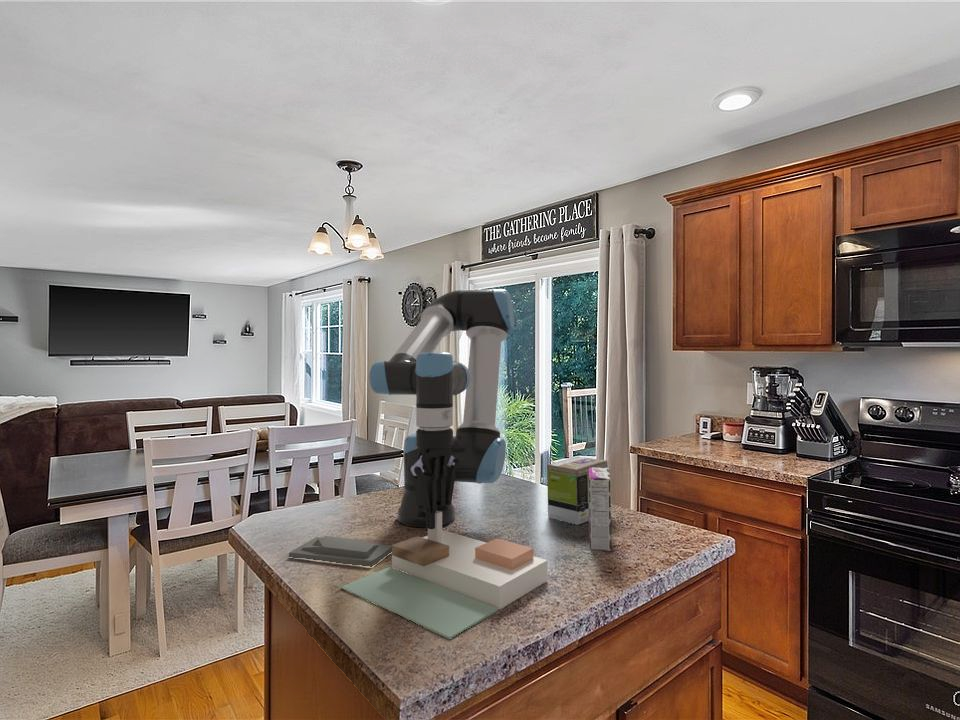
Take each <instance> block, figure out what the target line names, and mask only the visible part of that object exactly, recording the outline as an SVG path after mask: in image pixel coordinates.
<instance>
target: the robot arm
mask: <svg viewBox="0 0 960 720" xmlns="http://www.w3.org/2000/svg"><path fill="white" fill-rule="evenodd" d="M512 300H513V299H512V298H511V295H510V292H509V291H508V290H506V289H504V288H503V289H502V288H499V289H497V288H491V289H489V288H487V289H486V288H485V289H463V290H462V289H459V290H458V289H457V290H452V291H450V292H447V293H445V294H442V295H441V296H439V297H438V298H436V299H435V300H433V301H432V302H431V303H429V304H428V305H427V306H426V307H425V308H424V309H423V311H422V313H421V315H420V320H419V322H418V323H417V324H416V326H415V327H414V328H413V330H412V331H411V332H410V334H409V335H408V336H407V338H406V339H405V340H404V342H402V344H401V345H400V346H399V348H398V349H397V350H396V351H395V353H394V354H393V355H392V356H391V358H390V359H389V361H386V360H382V361H376V362H374V363H373V364H372V365H371V367H370V370H369V375H368V376H369V377H368V381H369V384H370V389H371V390H372V391H373V392H374V393H376V394H381V395H388V396H392V395H394V396H396V395H398V396H399V395H406V396H407V395H408V396H412V395H414V396H415V397H416V398H415V399H416V400H415V401H416V402H415V408H416V410H415V411H416V413H415V415H416V416H415V418H416V419H415V420H416V422H415V424H416V425H415V426H416V427H418V428H417V430H415V431H416V432H415V433H412V434H409V435H407V436H406V438H404V445H403V453H402V454H403V479H404V480H403V481H404V482H403V483H404V485H403V489H404V490H403V494H402V498H401V502H400V506H399V507H398V509H397V522H398V523H400V524H401V523H402V525H404V526H407V525H408V527H412V526H413V527H414V528H426V529H427V536H428V539H429V540H432V541H435V542H439V543H442V530H443V526H445V525H447V524H449V523H452V522H454V520H455V518H456V517H455V513H456V512H455V511H456V509H455V507H454V506H453V502H452V500H453V494H454V487H455V482H460V483H474V484H478V485H479V484H480V485H481V484H493V483H496V482H497V481H498V480H499V479H500V478H501V475H502V472H503V470H504V465H505V461H506V454H507V451H506V449H507V443H506V440H505V439H504V438H502V437H501V431H500V429H498V428H497V426H496V419H497V418H496V415H497V402H498V392H499V391H498V390H499V378H500V363H501V353H502V352H501V349H502V343H503V342H504V341H505V340H506V339H507V338H508V331H509V332H511V331H513V330H514V328H515V312H514V306H513V301H512ZM457 331H463V332H465V334H466V336H467V337H468V338H469V339H470V344H469V356H468V364H467V365H468V366H466V365H465V364H463V363H462V362H458V361H456V360H453V354H451V352H435V350H436V349H437V347H438V346H439V345H440V342H441V341H442V340H443V338H444V337H447V336H449V334H451V332H457ZM464 391H465V398H464V408H463V409H464V410H463V411H464V412H463V417H462V418H463V419H462V420H463V421H462V423H461V424H460V425H459V426H458V427H457V428H456V433H455V436H454V430H453V428H451V427H453V425H454V396H457V395H460V394H461V393H463V392H464Z"/></svg>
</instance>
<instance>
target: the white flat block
mask: <svg viewBox="0 0 960 720" xmlns="http://www.w3.org/2000/svg"><path fill="white" fill-rule="evenodd" d="M421 537H422V538H426V539H428V535H425V536H421ZM485 543H487V542H485V541H482V540H479V539H475V538H471V537H468V536H465V535H462V534H457V533H455V532H451V531H447V530H444V529H442V544H445V545H448V546H449V556H448V557H445V558H443V559H440V560H438V561H436V562H433V563H431V564H429V565H426V566H421V565H418V564H415V563H412V562H410V561H407V560H404V559H401V558H398V557H396V556H393V555H392V554H391V567H394V568H397V569H399V570H401V571H404V572H407V573H409V574H411V575H413V576H415V577H418V578H420V579H423V580H426V581H428V582H431V583H433V584H436V585H439V586H441V587H444V588H446V589H449V590H452V591H454V592H457V593H459V594H462V595H465V596H467V597H470V598H472V599H475V600H478V601H480V602H483V603H485V604H488V605H491V606H493V607H496V608H498V611H499V610H502V609H504V608H505V607H507V606H508V605H510V604H511V603H513V602H515V601H517V600H518V599H519V598H522V597H524V596H525V595H526V594H528V593H529V592H531V591H533V590H535V589H536V588H538V587H540V586H541V585H543V584H545V583H546V582H547V581H548V560H547V559H544V558H541V557H537V556H534V559H532V560H530V561H528V562H526V563H524V564H523V565H521V566H519V567H517V568H515V569H513V570H511V569H508V568H505V567H501V566H498V565H495V564H492V563H489V562H486V561H483V560H479V559H476V558H475V548H476V547H478V546H481V545H483V544H485Z"/></svg>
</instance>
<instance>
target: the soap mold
mask: <svg viewBox="0 0 960 720" xmlns="http://www.w3.org/2000/svg"><path fill="white" fill-rule="evenodd" d="M391 552H392V545H390V544H380V543H379V544H378V543H376V542H375V541H371V540H366V539H356V538H349V537H348V538H346V537H339V536H330V535H324V536H321V537H319V536H315V537H314V538H312V539H311V540H309V541H307V542H304V543H303V544H301V545H300V546H298V547H296V548H295V549H293V550H291V551H289V553H288V558H289V557H293V558H306V559H313V560H322V561H329V562H336V563H343V564H352V565H362V566H370V567H372V566H373V565H375V564H377V563H378V562H379V561H380V560H381V559H383V558H384V557H385V556H387V555H388V554H389V553H391Z"/></svg>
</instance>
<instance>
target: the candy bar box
mask: <svg viewBox="0 0 960 720" xmlns="http://www.w3.org/2000/svg"><path fill="white" fill-rule="evenodd" d="M610 473H611V472H610V468H609V467H608V468H595V467H591V468H589V521H588V532H589V533H588V536H589V537H588V538H589V539H588V540H589V549H590V550H591V551H599V550H602V551H603V552H611V551H612V511H611V510H612V499H611V498H612V497H611V495H612V494H611V493H612V492H611V474H610ZM602 551H601V552H602Z"/></svg>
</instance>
